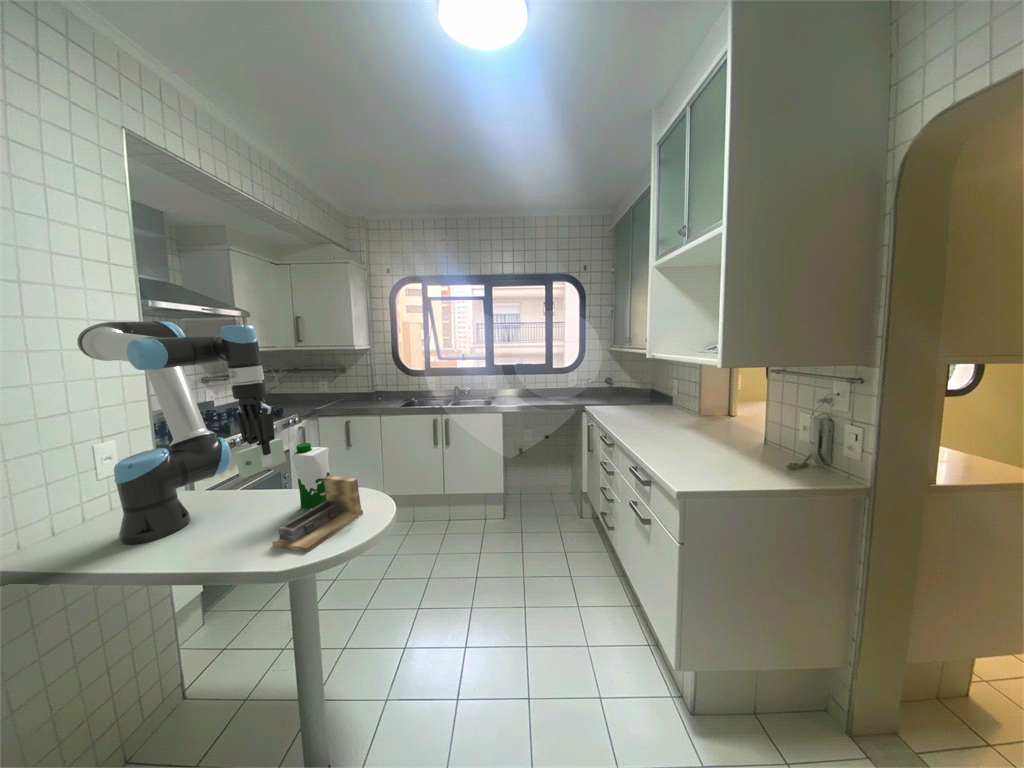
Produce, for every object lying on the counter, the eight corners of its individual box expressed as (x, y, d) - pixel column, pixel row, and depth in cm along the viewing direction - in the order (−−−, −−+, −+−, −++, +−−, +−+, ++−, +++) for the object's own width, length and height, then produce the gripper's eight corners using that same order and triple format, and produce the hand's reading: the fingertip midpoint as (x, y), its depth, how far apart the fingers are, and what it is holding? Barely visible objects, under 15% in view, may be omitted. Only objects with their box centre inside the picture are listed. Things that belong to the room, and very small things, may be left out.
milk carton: (315, 497, 126) (307, 440, 123) (339, 497, 124) (331, 440, 121) (296, 509, 118) (286, 449, 115) (321, 510, 116) (311, 449, 113)
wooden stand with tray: (273, 545, 98) (266, 506, 96) (332, 509, 117) (327, 475, 115) (307, 552, 94) (300, 511, 92) (363, 513, 112) (358, 478, 111)
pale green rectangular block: (239, 477, 99) (234, 452, 98) (281, 461, 110) (277, 438, 109) (246, 478, 98) (241, 452, 97) (287, 461, 109) (283, 438, 108)
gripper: (215, 385, 100) (231, 468, 103) (253, 384, 94) (269, 472, 98) (243, 381, 107) (258, 459, 110) (280, 379, 101) (294, 462, 105)
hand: (263, 465), depth 104 cm, fingers closed on pale green rectangular block, 2 cm apart
